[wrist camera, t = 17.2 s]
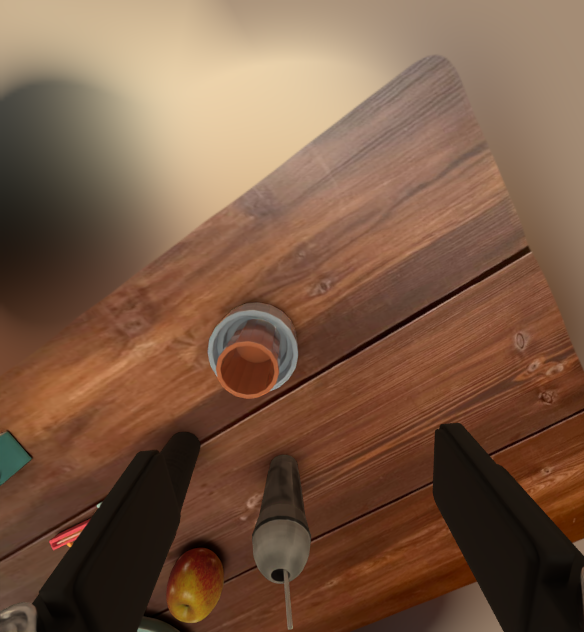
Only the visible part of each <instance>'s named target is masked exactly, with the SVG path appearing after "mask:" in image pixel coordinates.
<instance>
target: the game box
mask: <svg viewBox="0 0 584 632" xmlns="http://www.w3.org/2000/svg"><path fill="white" fill-rule="evenodd" d="M31 459H32V458H31V457H30V456H29V455H28V454H27V453H26V451H25V450H24V449H23V448H22V447H21V446H20V445H19V443H18V442H17V441H16V440H15V439H14V438H13V437H12V436H11V434H10V433H9V432H7V431H5V432H3V433H1V434H0V486H1V485H2V484H3V483H4V482H6V481H7V480H8V479H9V478H10V477H11V476H13V475H14V474H15V473H16V472H17V471H19V470H20V469H21V468H22V467H23V466H24V465H26V464H27V463H28V462H29V461H30V460H31Z"/></svg>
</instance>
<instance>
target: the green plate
mask: <svg viewBox="0 0 584 632" xmlns="http://www.w3.org/2000/svg"><path fill="white" fill-rule="evenodd" d="M137 632H180V631H179V630H177V629H176V628H174V627H173V626H171V625H170V624H168V623H166V622H163V621H161V620H158V619H155V618H150V617H144V616H143V618H142V620H141V623H140V625H139V628H138V631H137Z"/></svg>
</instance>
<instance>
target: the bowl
mask: <svg viewBox="0 0 584 632" xmlns="http://www.w3.org/2000/svg"><path fill="white" fill-rule="evenodd" d="M250 319H262V320H266V321H268V322H270V323H271V324H273V325H274V326H275V327H276V328H277V330H278V332H279V333H280V336H281V344H282V346H281V357H280V368H279V375H278V378H277V382H276V384H275V385H274V387H273V388H272V389H271V390H270V391H272V390H274V389H276V388H278V387H280V386H281V385H282V384H284V383H285V382H286V381H287V380H288V379H289V378H290V376H291V375H292V373H293V371H294V370H295V368H296V364H297V359H298V343H297V334H296V330H295V328H294V326H293V324H292V322H291V320H290V319H289V318H288V317H287V316H286V315H285V314H284V313H283V312H282V311H281V310H279V309H277V308H276V307H274V306H272V305H269V304H264V303H259V302H255V303H247V304H243V305H240V306H238V307H236V308H234V309H232V310H231V311H230V312H229V313H228V314H227V315H226V316H225V317H224V318H223V319H222V320H221V321H220V322H219V324H218V325H217V326H216V327H215V329H214V331H213V333H212V335H211V337H210V339H209V346H208V356H209V361H210V365H211V367H212V369H213V371H214V372H215V374H216V376H217V372H216V365H217V361H218V357H219V356H220V354H221V352H222V351H223V349H224V348H225V346H226V344H227V343H228V341H229V339H230V338H231V336H232V335H233V333H234V332H235V330H236V329H237V327H238V326H239V325H240V324H242V323H243V322H245V321H247V320H250Z"/></svg>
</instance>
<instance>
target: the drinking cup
mask: <svg viewBox="0 0 584 632" xmlns="http://www.w3.org/2000/svg"><path fill="white" fill-rule="evenodd" d="M199 451H200V442H199V440H198V438H197V437H196V436H195V435H193V434H191V433H188V432H179V433H177V434H175V435H174V436H173V437H172V438H171V439H170V440H169V442H168V443H167V444H166V446H165V447H164V448H163V449H162V451H161V452H160V454H163V455H164V457H165V461H166V464H167V468H168V471H169V475H170V478H171V482H172V485H173V488H174V492H175V495H176V499H177V502H178V506H179V509H180V512H181V509H182V506H183V502H184V499H185V496H186V493H187V489H188V486H189V483H190V480H191V476H192V473H193V470H194V467H195V464H196V460H197V457H198V454H199ZM176 532H177V531H176ZM175 536H176V534H175ZM175 536H174V538H175ZM173 541H174V539H173ZM173 541H172V542H173Z"/></svg>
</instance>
